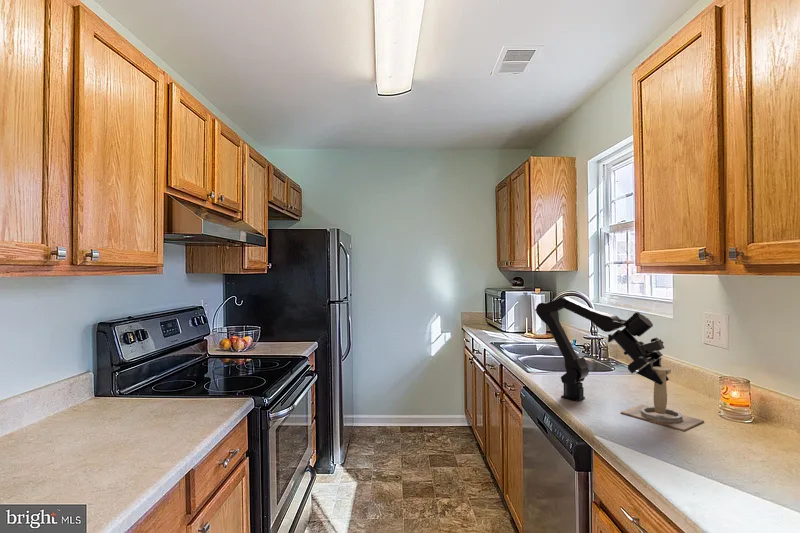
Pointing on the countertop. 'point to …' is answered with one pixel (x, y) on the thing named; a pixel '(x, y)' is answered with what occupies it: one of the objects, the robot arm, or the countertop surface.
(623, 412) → the socket board
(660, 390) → the handle
